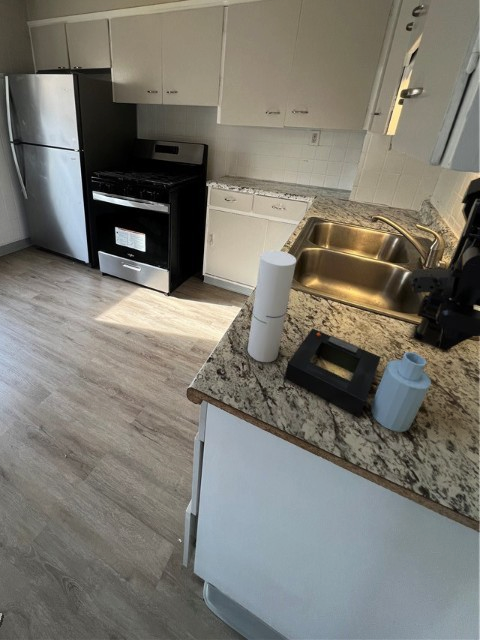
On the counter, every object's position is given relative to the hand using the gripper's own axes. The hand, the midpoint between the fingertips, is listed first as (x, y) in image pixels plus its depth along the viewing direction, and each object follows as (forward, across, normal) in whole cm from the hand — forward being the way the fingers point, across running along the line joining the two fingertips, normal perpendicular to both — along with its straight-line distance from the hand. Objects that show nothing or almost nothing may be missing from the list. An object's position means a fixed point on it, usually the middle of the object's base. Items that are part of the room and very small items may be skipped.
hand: (443, 336), depth 62 cm
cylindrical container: (+13, +13, -31) cm, 36 cm away
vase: (+13, +13, -4) cm, 19 cm away
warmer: (+13, +10, -16) cm, 23 cm away
